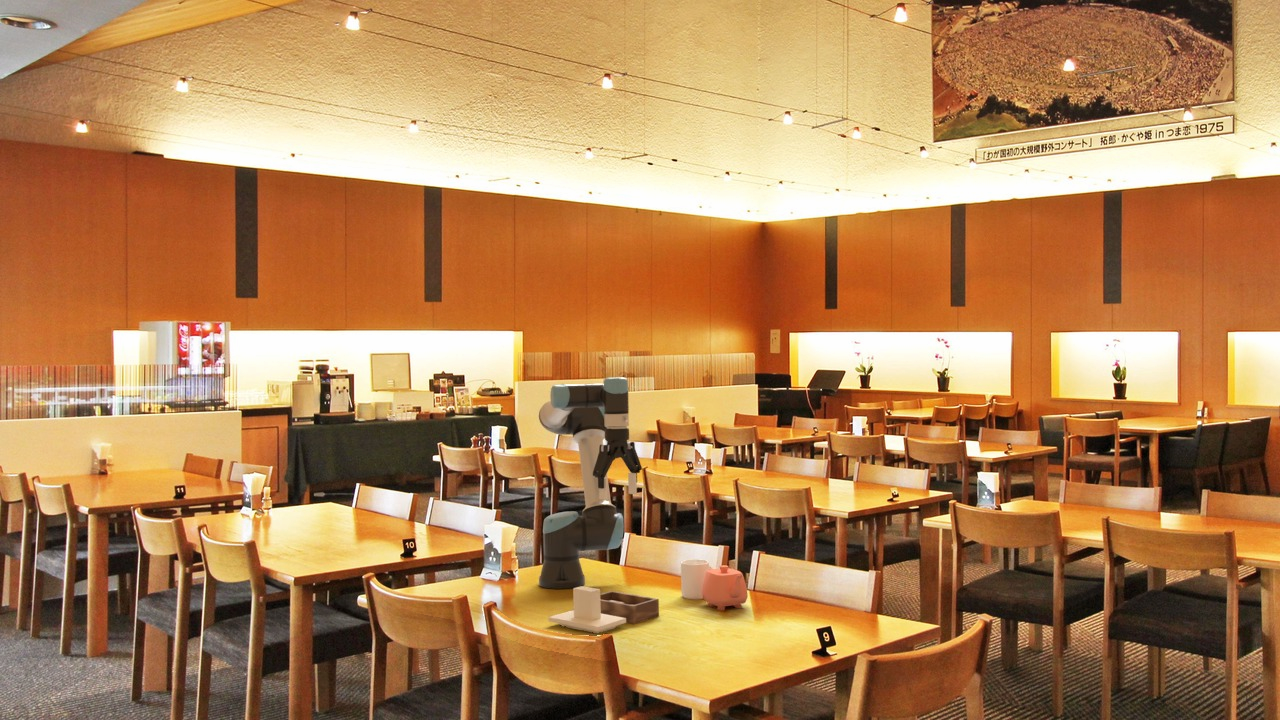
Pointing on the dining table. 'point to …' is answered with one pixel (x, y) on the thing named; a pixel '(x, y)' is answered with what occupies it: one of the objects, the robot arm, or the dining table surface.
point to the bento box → (629, 606)
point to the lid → (587, 613)
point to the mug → (693, 577)
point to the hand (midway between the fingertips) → (618, 496)
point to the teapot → (724, 588)
